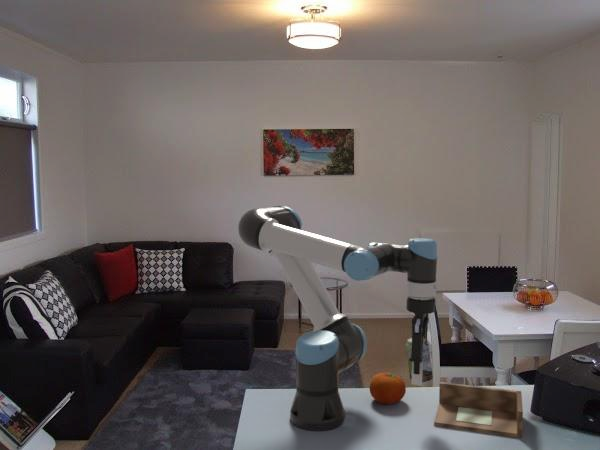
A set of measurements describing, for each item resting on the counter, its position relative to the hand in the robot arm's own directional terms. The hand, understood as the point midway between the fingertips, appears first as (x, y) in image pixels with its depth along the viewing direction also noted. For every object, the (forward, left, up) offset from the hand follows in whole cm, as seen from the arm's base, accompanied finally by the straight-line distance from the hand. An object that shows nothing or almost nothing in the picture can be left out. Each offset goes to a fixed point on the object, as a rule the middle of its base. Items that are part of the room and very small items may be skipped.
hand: (418, 379), depth 152 cm
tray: (+15, +6, -12) cm, 20 cm away
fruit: (-11, +11, -12) cm, 19 cm away
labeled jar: (0, 0, -1) cm, 1 cm away
